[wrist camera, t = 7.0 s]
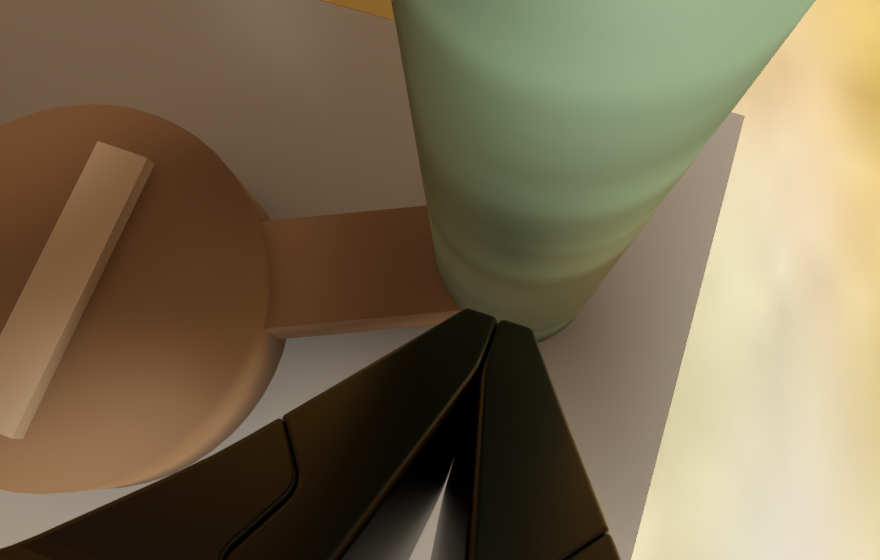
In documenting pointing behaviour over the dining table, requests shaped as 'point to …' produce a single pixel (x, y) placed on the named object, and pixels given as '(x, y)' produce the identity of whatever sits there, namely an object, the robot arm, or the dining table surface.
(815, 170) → the dining table surface
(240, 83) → the stand
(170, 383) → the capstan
